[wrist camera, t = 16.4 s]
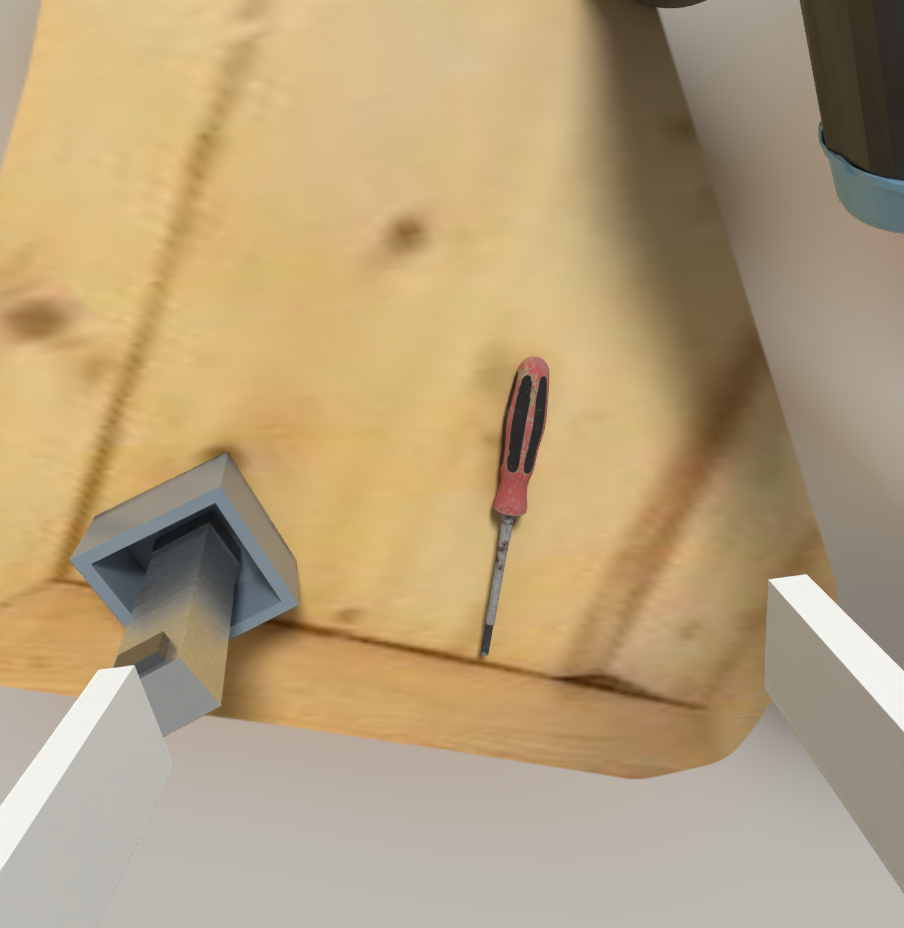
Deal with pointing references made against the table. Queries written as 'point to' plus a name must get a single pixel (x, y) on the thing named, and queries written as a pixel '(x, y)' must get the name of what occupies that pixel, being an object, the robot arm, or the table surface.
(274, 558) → the caddy
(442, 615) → the table surface
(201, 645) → the brushed metal post
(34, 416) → the table surface
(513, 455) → the screwdriver
